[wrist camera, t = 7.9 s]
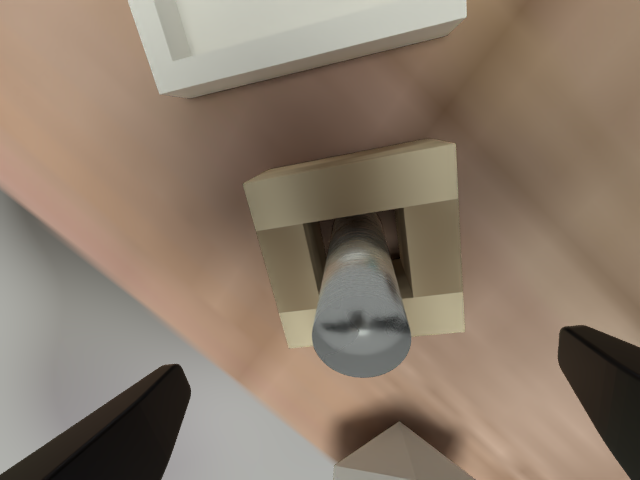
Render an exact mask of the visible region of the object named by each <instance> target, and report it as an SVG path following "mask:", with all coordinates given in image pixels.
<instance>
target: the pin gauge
mask: <svg viewBox="0 0 640 480" xmlns="http://www.w3.org/2000/svg"><path fill="white" fill-rule="evenodd" d="M312 342H313V346H314V349H315V351H316V353H317V355H318V356H319V357H320V359H321V360H322V361H323V362H324V363H325V364H326V365H327V366H329V367H330V368H332V369H333V370H335V371H337V372H339V373H341V374H344V375H347V376H352V377H360V378H367V377H375V376H379V375H382V374H385V373H387V372H389V371H391V370H393V369H394V368H396V367H397V366H398V365H399V364H400V363H401V362H402V361H403V360H404V359H405V357H406V356H407V354H408V352H409V349H410V345H411V332H410V327H409V324H408V320H407V316H406V313H405V309H404V305H403V301H402V298H401V294H400V290H399V287H398V283H397V279H396V276H395V272H394V268H393V265H392V261H391V257H390V253H389V250H388V246H387V242H386V239H385V235H384V231H383V228H382V224H381V221H380V219H379V217H378V215H377V214H376V213H375V212H372V213H366V214H360V215H354V216H347V217H341V218H336V219H335V221H334V225H333V230H332V235H331V239H330V244H329V249H328V254H327V259H326V264H325V269H324V274H323V279H322V284H321V289H320V294H319V299H318V304H317V309H316V314H315V319H314V324H313V329H312Z"/></svg>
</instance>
